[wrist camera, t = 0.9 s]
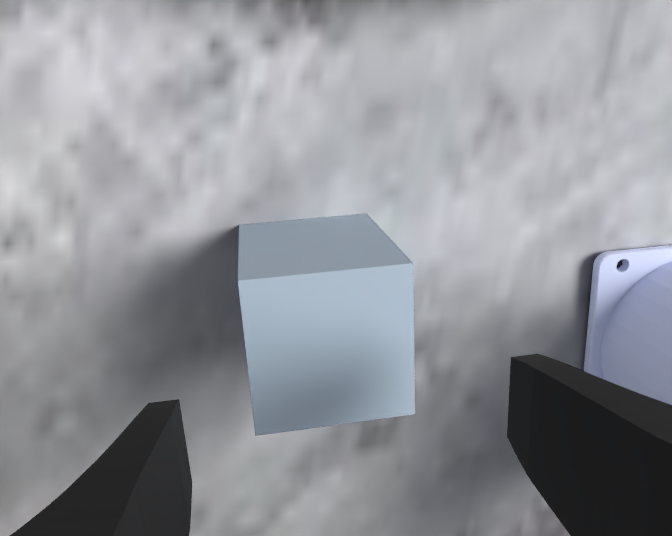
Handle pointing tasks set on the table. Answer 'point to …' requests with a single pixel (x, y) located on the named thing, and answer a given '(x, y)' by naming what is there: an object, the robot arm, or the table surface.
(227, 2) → the table surface
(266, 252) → the slate block
